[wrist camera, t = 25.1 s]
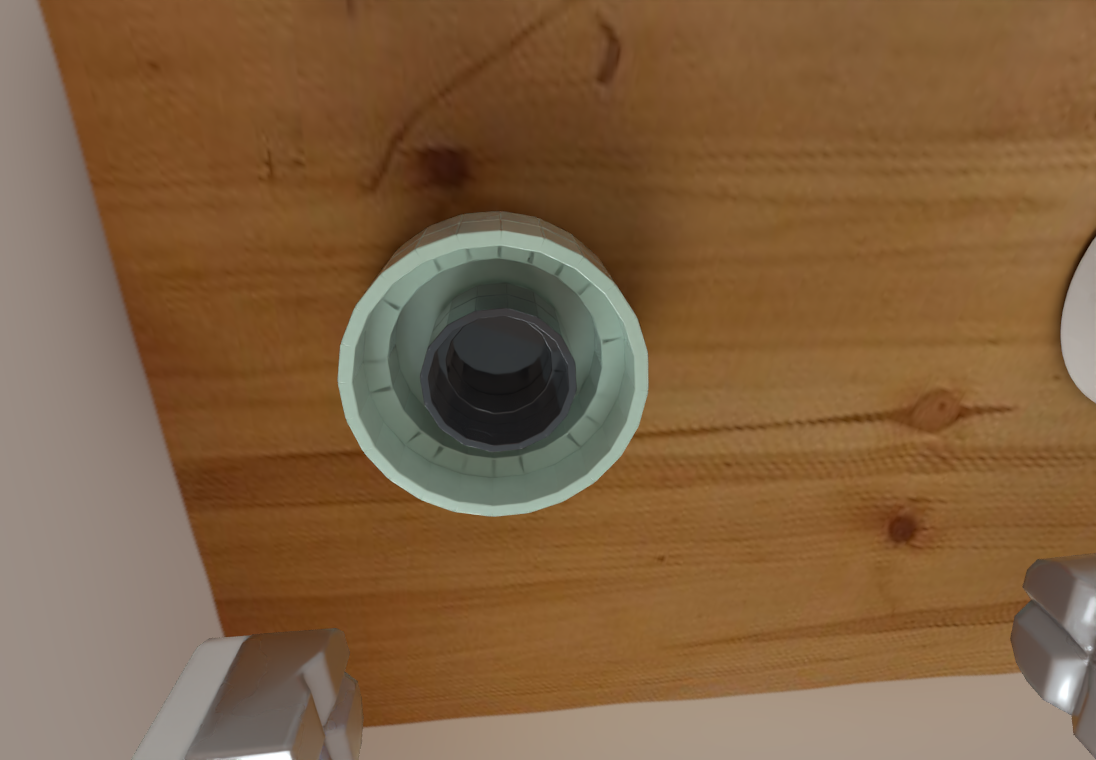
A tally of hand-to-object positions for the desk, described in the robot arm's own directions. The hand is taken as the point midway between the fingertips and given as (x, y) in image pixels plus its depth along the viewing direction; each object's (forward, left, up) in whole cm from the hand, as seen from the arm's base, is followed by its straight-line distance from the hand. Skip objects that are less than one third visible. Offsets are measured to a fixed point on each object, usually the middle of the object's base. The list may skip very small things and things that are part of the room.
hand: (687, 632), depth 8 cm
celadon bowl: (+3, +5, -25) cm, 25 cm away
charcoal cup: (+3, +5, -24) cm, 25 cm away
